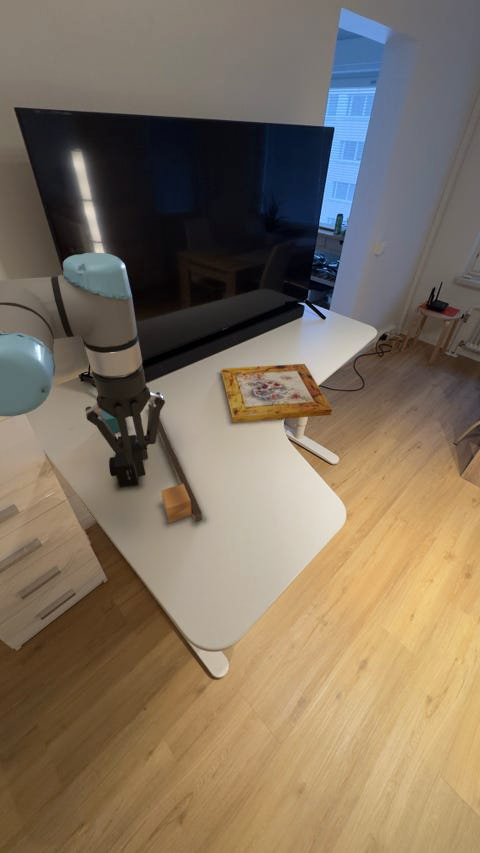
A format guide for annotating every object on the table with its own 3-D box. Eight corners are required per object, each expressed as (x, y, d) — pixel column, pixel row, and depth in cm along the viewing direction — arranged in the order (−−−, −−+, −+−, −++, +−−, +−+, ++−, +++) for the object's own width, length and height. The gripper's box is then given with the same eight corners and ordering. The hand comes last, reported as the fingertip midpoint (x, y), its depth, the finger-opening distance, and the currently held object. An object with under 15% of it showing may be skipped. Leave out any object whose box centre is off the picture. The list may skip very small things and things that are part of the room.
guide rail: (195, 522, 73) (194, 515, 71) (149, 411, 102) (147, 404, 100) (202, 519, 74) (201, 512, 72) (154, 410, 102) (153, 403, 101)
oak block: (169, 522, 73) (167, 508, 69) (163, 505, 76) (160, 490, 73) (192, 514, 74) (190, 500, 71) (184, 498, 78) (183, 483, 75)
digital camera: (118, 456, 87) (112, 436, 83) (140, 454, 88) (135, 434, 83) (114, 488, 79) (107, 467, 75) (138, 485, 80) (133, 464, 76)
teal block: (107, 434, 93) (103, 420, 90) (105, 423, 97) (101, 409, 94) (126, 429, 95) (123, 415, 92) (123, 419, 98) (119, 405, 95)
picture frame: (332, 409, 102) (232, 417, 97) (330, 415, 103) (232, 422, 99) (304, 363, 122) (221, 368, 118) (303, 369, 123) (221, 373, 119)
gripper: (154, 348, 57) (167, 450, 72) (70, 362, 53) (103, 467, 68) (165, 370, 52) (177, 475, 67) (73, 387, 48) (108, 495, 63)
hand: (140, 471), depth 68 cm, fingers closed
